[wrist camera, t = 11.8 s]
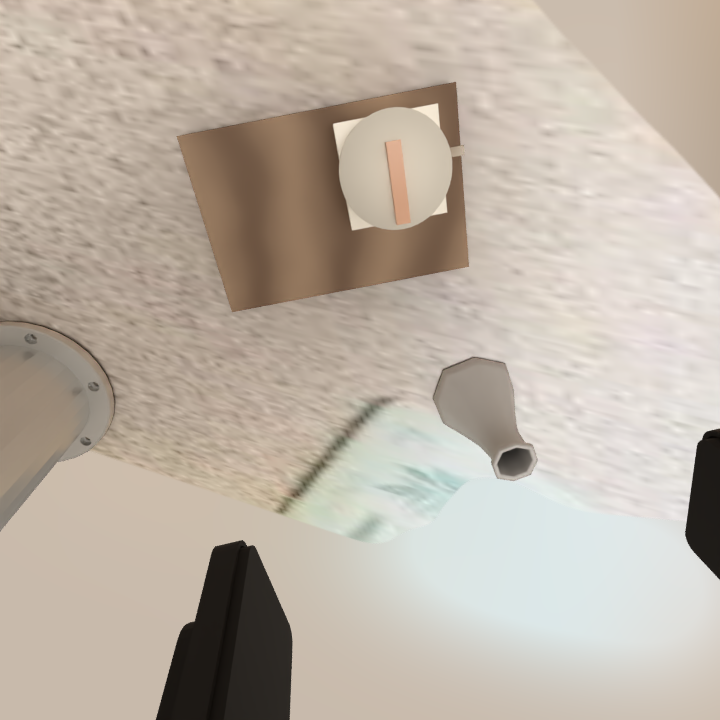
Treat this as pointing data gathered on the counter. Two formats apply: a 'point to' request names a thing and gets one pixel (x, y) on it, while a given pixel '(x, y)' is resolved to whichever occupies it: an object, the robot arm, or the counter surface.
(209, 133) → the hub board
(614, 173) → the counter surface
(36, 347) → the robot arm
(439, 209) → the knob
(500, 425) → the flask
